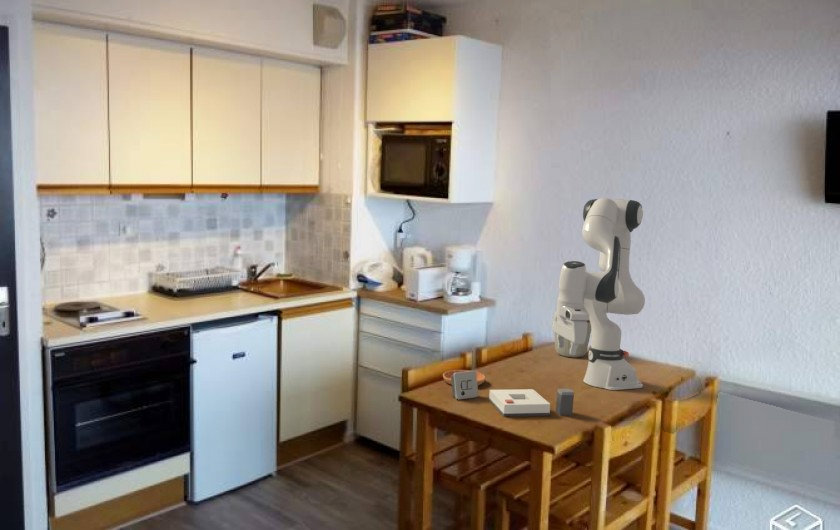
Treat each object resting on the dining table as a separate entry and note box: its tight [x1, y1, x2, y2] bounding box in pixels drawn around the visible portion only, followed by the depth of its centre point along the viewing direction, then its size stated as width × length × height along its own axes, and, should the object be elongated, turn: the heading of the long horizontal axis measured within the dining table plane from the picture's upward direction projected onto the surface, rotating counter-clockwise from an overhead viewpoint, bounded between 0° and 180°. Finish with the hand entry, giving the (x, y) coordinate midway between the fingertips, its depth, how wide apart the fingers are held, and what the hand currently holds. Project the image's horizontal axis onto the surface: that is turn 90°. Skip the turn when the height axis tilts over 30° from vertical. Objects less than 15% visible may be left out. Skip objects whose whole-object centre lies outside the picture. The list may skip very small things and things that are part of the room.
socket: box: [488, 388, 551, 418], centre depth 248 cm, size 16×16×5 cm
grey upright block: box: [555, 388, 575, 416], centre depth 245 cm, size 4×4×8 cm
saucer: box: [442, 369, 486, 387], centre depth 275 cm, size 16×16×3 cm
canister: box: [552, 315, 591, 358], centre depth 325 cm, size 18×18×21 cm
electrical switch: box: [451, 370, 479, 400], centre depth 257 cm, size 9×5×9 cm, turn 121°
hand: (566, 351), depth 244 cm, fingers open, 8 cm apart
